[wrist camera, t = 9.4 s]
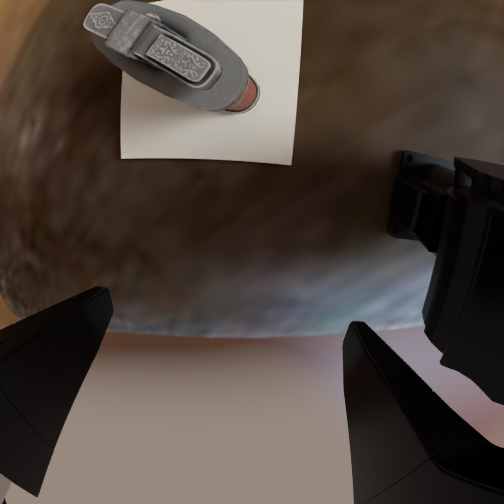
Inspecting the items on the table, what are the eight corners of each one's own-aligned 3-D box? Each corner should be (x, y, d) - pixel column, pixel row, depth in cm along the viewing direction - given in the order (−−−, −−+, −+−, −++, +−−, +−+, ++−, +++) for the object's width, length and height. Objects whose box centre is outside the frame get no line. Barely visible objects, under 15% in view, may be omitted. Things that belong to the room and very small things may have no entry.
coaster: (302, 2, 13) (303, -4, 12) (290, 163, 19) (291, 165, 18) (136, 10, 14) (130, 7, 13) (127, 156, 19) (121, 158, 18)
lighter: (145, 64, 15) (44, 42, 6) (174, 25, 14) (90, -29, 5) (239, 125, 17) (193, 134, 8) (272, 85, 16) (262, 47, 7)
